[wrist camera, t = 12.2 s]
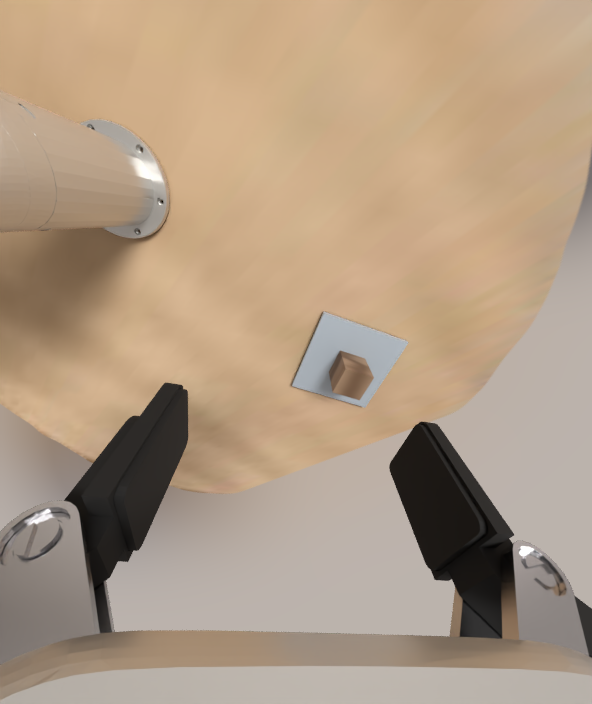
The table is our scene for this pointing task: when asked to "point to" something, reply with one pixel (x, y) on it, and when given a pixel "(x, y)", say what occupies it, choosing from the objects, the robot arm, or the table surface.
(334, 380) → the walnut block
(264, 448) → the table surface
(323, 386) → the slate board
